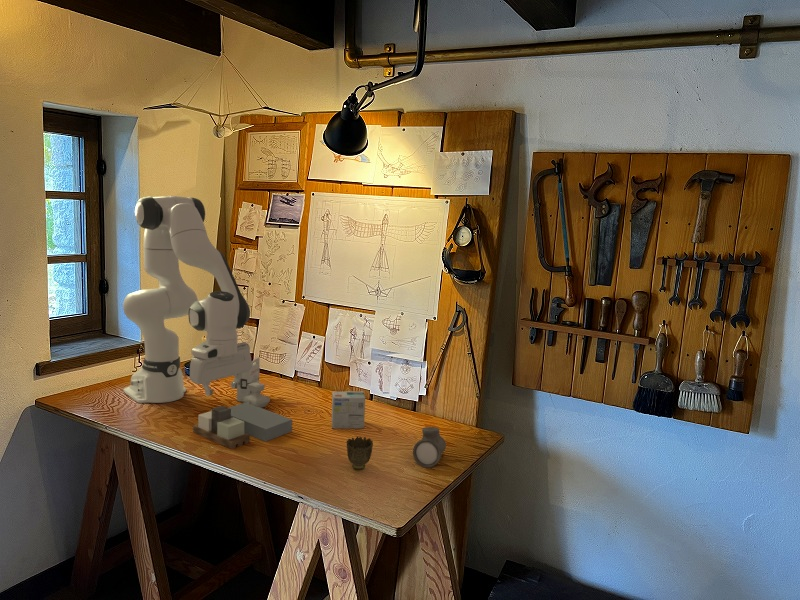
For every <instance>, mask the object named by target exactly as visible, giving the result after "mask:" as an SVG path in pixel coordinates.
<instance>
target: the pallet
mask: <svg viewBox="0 0 800 600" xmlns="http://www.w3.org/2000/svg"><path fill="white" fill-rule="evenodd" d="M211 411H212V431H209V432H208V431H206V430H204V429H201V428H199V427H198V424H194V425H193V426H192V430H193V432H194V434H196V435H199V436H200V437H203V438H205V439H207V440H210V441H212V442H214V443H216V444H219V445H220V446H223V447H225V448H227V449H229V450H234V449H236V447H242V446H243V444H244V445H246V444H249V443H250V440H251V439H250V438H251V435H248V434H246V433H244V435H241V436H238V437H235V438H233V439H230V440H227V439H225V438H222V437H220V436H218V435H217V423H218V422H221V421H224V420H227V419H230V418H231V409H230V408H229V407H227V406H225V405H220V406H216V407H213V408H211Z"/></svg>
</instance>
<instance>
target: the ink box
mask: <svg viewBox="0 0 800 600" xmlns="http://www.w3.org/2000/svg"><path fill="white" fill-rule="evenodd" d="M260 362H261V361H260V356H258V357H256V358H255V359H253V360H251V363H252V368H251V370H250V371H249V372H245V373H242V377H241V379H240V381H239V382H238V388H236V402H241V403H244V402H243V398H244V397H246V396H249V395H252V394H253V392H252V391H250V390H249V388H248V384H251V383H254V382H258V383H260V365H261V364H260Z"/></svg>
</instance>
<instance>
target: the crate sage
mask: <svg viewBox="0 0 800 600" xmlns="http://www.w3.org/2000/svg"><path fill="white" fill-rule="evenodd" d="M217 435H218V436H220V437H222V438H225V439H227V440H230V439H233V438H235V437H238V436H241V435H244V421H241V420H239V419H236V418H234V417H233V418H230V419H227V420H224V421H221V422H218V423H217Z"/></svg>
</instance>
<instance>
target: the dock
mask: <svg viewBox="0 0 800 600" xmlns="http://www.w3.org/2000/svg"><path fill="white" fill-rule="evenodd" d="M228 408H230V409H231V418H233V417H234V418H236V419H239V420H241V421H244V433H245V434H247V435H250V437H253V438H255V439H258V440H260V441H262V442H269V441H271V440H273V439H276V438H278V437H281V436H283V435H286V434H289V433H292V432H293V419H292V418H289V417H286V416H284V415H281V414H278V413H275V412H272V411H270V410H268V409H264V407H262V408H260V407H257V406H254V405H252V404H249V403H246V402H245V403H244V402H241V403H239V404H235V405H233V406H230V407H228Z"/></svg>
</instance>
